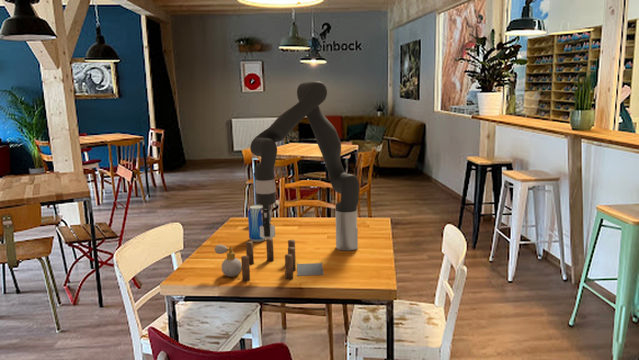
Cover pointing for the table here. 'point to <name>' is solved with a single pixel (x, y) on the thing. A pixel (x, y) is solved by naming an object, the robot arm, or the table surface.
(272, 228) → the nut
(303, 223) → the table surface
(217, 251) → the perfume bottle
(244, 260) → the post field
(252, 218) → the beer can
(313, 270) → the felt mat
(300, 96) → the robot arm
